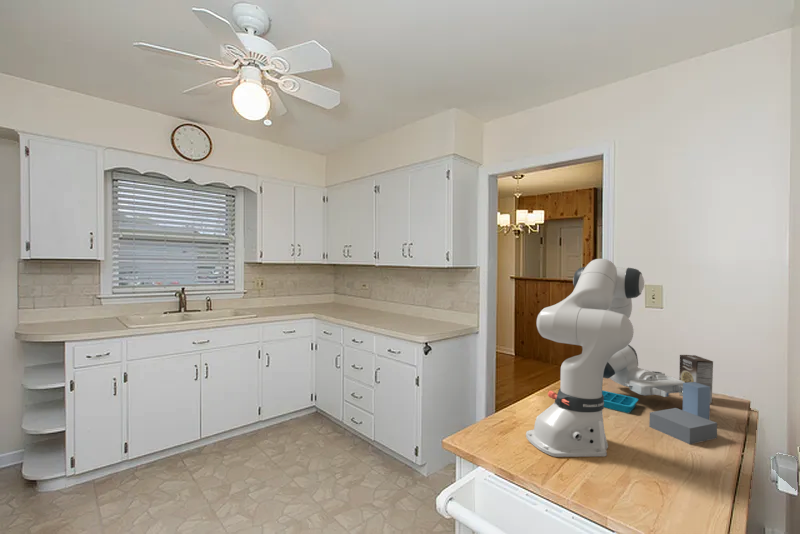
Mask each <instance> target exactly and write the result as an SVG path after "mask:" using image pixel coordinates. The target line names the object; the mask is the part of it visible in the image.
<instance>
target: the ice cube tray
mask: <svg viewBox="0 0 800 534" xmlns="http://www.w3.org/2000/svg"><path fill="white" fill-rule="evenodd" d="M602 395H603V396H604V409H605V408H606V409H609V410H614V411H617V412H621V413H627V414H630V413H631V412H632V411H633V410H634V408H635V407H636V404H637V403H638V401H639V398H638V397H634V396H630V395H624V394H620V393H615V392H612V391H607V390H603V389H602Z"/></svg>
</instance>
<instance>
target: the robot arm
mask: <svg viewBox="0 0 800 534" xmlns="http://www.w3.org/2000/svg"><path fill="white" fill-rule="evenodd" d="M572 283H573V291H572V292H571V293H570V294H569V295H568V296H566V298H564V299H562V300H561V301H559V302H557V303H556V304H553V305H550V306H546V307H544V308H543V309H540V312H539V313H538V314H537V317H536V321H535V322H536V329H537V332H538V333H539V335H540V336H541V337H542V338H544V339H547V340H550V341H553V342H555V343H558V344H559V343H560V344H567V345H575V346H581V349H582V351H581V353H580V354H578V355H574V356H571V357H568V358H566V359H565V360H564V361H563V362H562V363H561V366H560V381H559V382H560V388H559V389H558V392H555V391H553V390H549V391H548V392H547V397H549V398H550V399H552V400H554V402H553V403H552V404H551V405H550V406H549V407H548V408H546V409H545V410H544V411H542V412H541V413H540V414H538V415H537V416H536V418H535V422H534V425H533V426H534V428H533V429H530V430H526V433H525V437H526V439H527V441H528V442H529V443H530V444H531V445H532V446H533V447H535V448H537V449H538V450H540V452H543V453H544V454H546V455H549V456H551V457H557V458H560V457H562V458H565V457H568V458H569V457H570V458H572V457H573V458H575V457H578V458H579V457H581V458H582V457H606V456H607V454H608V453H607V449H608V448H609V444H608V439H607V437H606V433H605V431H606V430H605V426H604V418H603V410H604V409H605V407H604V396H603V395H602V390H603V384H604V383H603V382H604V379H607V380H608V379H610V380H612V381H613V382H614V383H616V384H619V385H621V386H623V387H628V389H629V390H630V391H632V392H633V393H636V394H637V395H641V396H654V395H656V396H661V397H664V398H667V397H670V395H669V394H677V393H678V394H679V393H680V392H682V394H683V383H685V382H684V381H682V380H679V378H676V377H673V376H671V375H667V374H666V373H665V372H662V371H653V370H649V369H644V368H640V367H639V358H638V354H637V351H636V349H635V348H634V347H633V346H631V345H630V343H631V342H632V340H633V337H634V326H633V323H632V321H631V320H630V317H631V315H632V312H633V311H632V310H633V303H632V299H635V298H638V297H639V296H641V295H642V292H643V290H644V287H645V279H644V277H643V274H642V272H641V271H640V270H639V269H637V268H633V267H627V268H625V267H619V266H618V267H617V266H616V265H615V264H614V262H613V261H610V260H609V259H607V258H595V259H592V260H591V261H590V262H588V264H586V266H584V267H580V268H578V269H577V270H576V271H575V272H574V275H573V279H572Z"/></svg>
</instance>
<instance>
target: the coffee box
mask: <svg viewBox="0 0 800 534" xmlns="http://www.w3.org/2000/svg"><path fill="white" fill-rule="evenodd" d="M713 369H714V361H713V360H710V359H707V358H704V357H702V356H698V355H695V354H692V355H691V354H679V376H678V377H679V378H678V379H679V380H682V381H684V382H685V383H688V382H696V383H700V384H703V385H706V386H709V387H710V404H712V403H713V382H714V381H713V379H714V377H713V373H714V370H713ZM678 394H679V395H680V396H681V397H683V394H682V392H680V393H678Z"/></svg>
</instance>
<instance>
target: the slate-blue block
mask: <svg viewBox="0 0 800 534" xmlns="http://www.w3.org/2000/svg"><path fill="white" fill-rule="evenodd" d="M710 405H711V403H710V387H709V386H706V385H703V384H700V383H696V382H688V383H683V396H682V410H683V411H686V412H689V413H691V414H694V415H697V416H700V417H702V418H705V419H708V420H710V419H711V418H710V411H711V408H710Z"/></svg>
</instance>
